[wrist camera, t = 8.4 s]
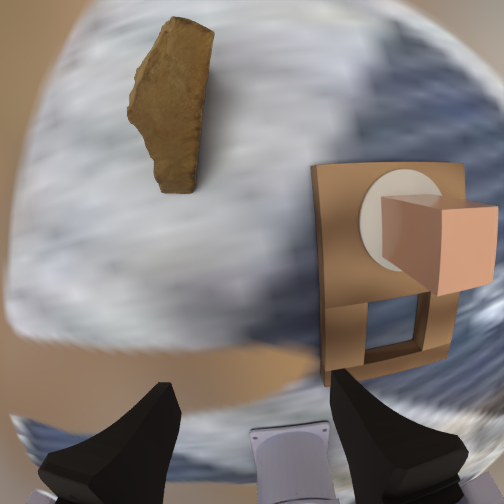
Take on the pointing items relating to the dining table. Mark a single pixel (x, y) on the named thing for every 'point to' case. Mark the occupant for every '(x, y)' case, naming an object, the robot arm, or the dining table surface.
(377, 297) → the walnut board
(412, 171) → the cream disc
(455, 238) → the terracotta block
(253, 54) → the dining table surface
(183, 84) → the rock
